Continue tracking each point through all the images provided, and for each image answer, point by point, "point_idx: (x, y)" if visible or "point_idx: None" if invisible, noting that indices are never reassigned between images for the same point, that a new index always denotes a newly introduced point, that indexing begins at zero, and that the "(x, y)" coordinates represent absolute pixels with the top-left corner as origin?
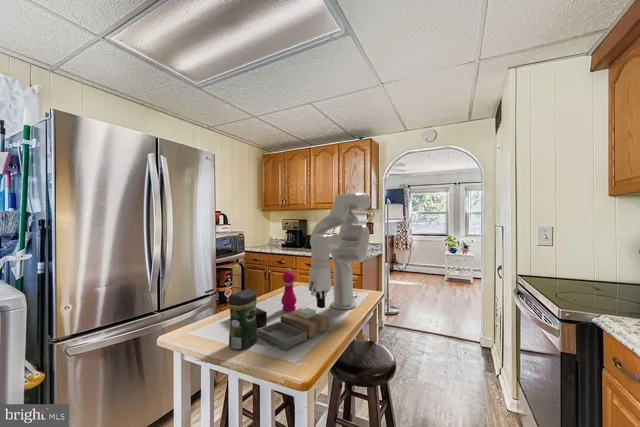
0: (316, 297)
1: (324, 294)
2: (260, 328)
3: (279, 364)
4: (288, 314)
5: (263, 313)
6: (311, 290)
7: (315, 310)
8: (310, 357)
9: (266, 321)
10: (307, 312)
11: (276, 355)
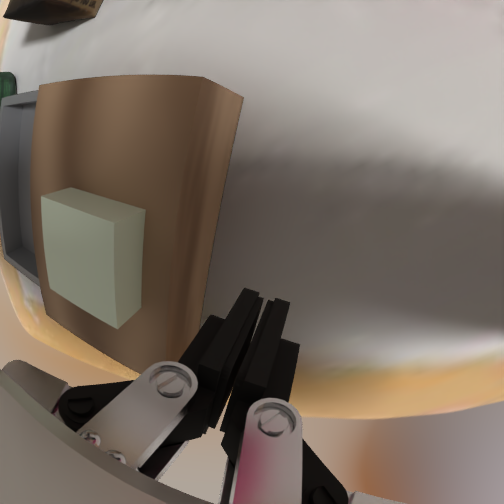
0: (154, 374)
1: (227, 481)
2: (5, 100)
3: (8, 267)
4: (61, 106)
5: (35, 5)
6: (3, 385)
7: (115, 326)
8: (49, 322)
9: (80, 11)
10: (58, 284)
11: None
